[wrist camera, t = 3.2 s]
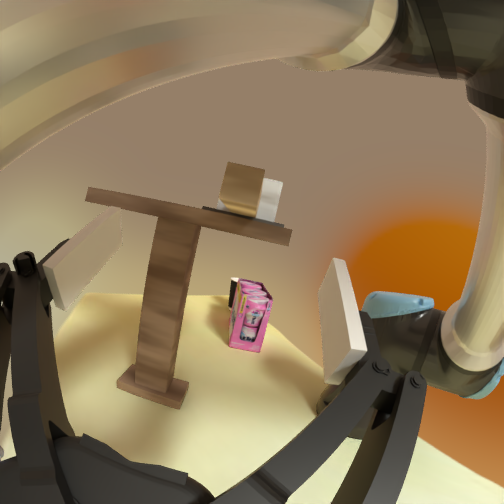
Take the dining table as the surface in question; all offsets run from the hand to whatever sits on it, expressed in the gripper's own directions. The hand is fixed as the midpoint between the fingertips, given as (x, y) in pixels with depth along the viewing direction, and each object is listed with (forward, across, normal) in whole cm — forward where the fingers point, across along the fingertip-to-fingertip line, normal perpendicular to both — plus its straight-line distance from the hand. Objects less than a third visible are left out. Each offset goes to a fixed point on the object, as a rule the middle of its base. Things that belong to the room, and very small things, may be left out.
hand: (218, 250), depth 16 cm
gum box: (+36, +5, -50) cm, 61 cm away
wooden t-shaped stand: (+7, -8, -33) cm, 34 cm away
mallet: (+16, 0, -5) cm, 17 cm away
